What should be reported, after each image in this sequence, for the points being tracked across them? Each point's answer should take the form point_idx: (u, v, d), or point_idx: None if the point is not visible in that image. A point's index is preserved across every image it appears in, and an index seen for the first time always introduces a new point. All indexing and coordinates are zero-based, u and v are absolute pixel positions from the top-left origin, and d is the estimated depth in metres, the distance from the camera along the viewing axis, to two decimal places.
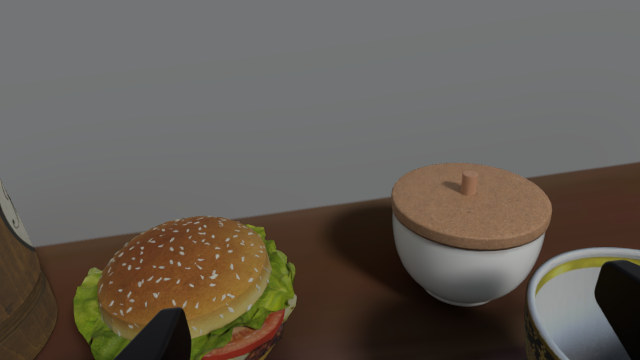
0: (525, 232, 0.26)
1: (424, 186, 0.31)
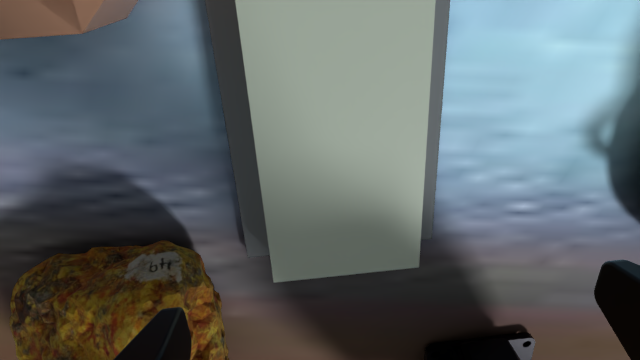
0: None
1: None
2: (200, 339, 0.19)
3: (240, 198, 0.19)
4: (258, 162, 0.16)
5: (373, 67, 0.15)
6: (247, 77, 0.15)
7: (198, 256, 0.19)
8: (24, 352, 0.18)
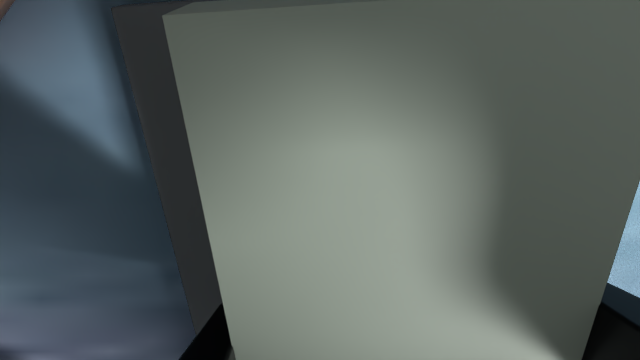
0: None
1: None
2: None
3: None
4: None
5: (504, 205, 0.06)
6: (212, 235, 0.06)
7: None
8: None
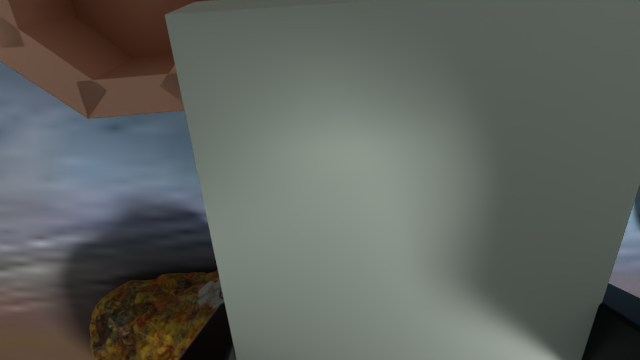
0: None
1: None
2: None
3: None
4: None
5: (506, 204, 0.06)
6: (214, 234, 0.06)
7: None
8: None
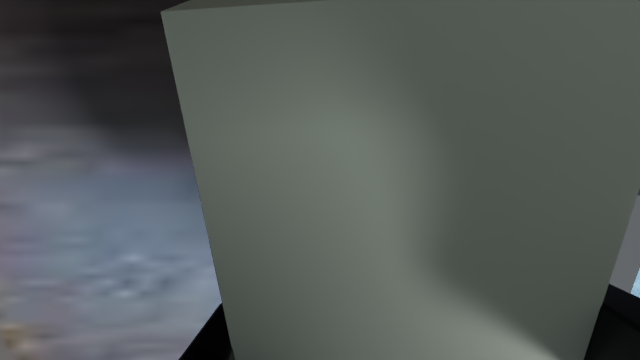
0: None
1: None
2: None
3: None
4: None
5: (506, 204, 0.06)
6: (211, 233, 0.06)
7: None
8: None
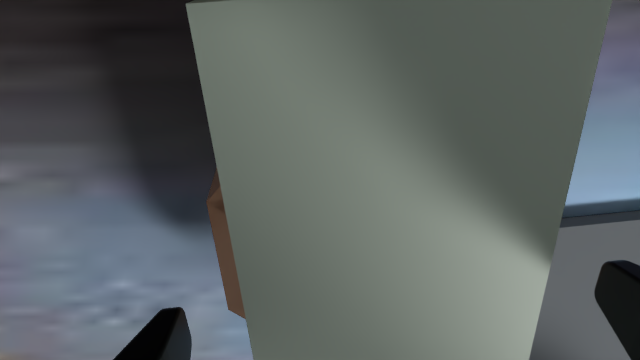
0: None
1: None
2: None
3: None
4: (248, 321, 0.09)
5: (467, 162, 0.08)
6: (224, 187, 0.07)
7: None
8: None
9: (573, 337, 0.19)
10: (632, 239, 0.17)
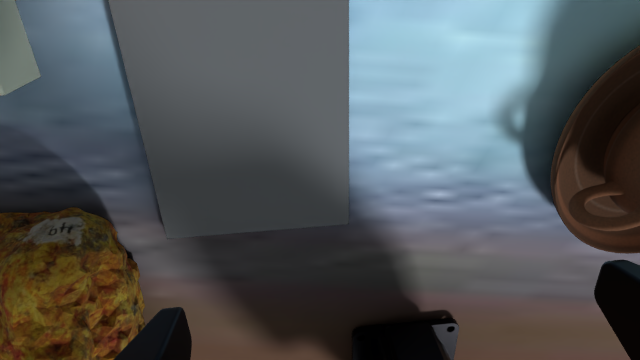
0: None
1: None
2: (105, 305, 0.19)
3: (155, 180, 0.19)
4: None
5: None
6: None
7: (108, 223, 0.19)
8: None
9: (262, 115, 0.18)
10: None
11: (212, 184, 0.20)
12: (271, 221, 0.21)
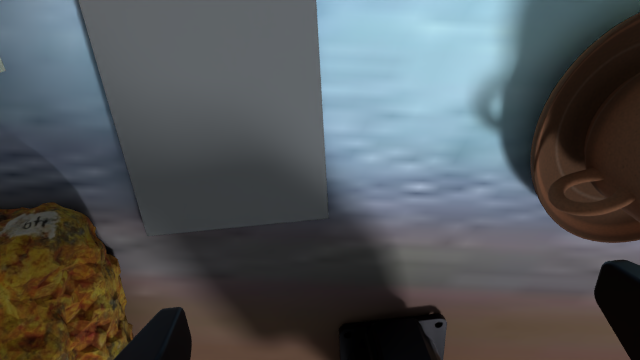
0: None
1: None
2: (82, 299, 0.19)
3: (132, 177, 0.19)
4: None
5: None
6: None
7: (85, 218, 0.19)
8: None
9: (235, 110, 0.18)
10: None
11: (189, 180, 0.20)
12: (250, 216, 0.21)
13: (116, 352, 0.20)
